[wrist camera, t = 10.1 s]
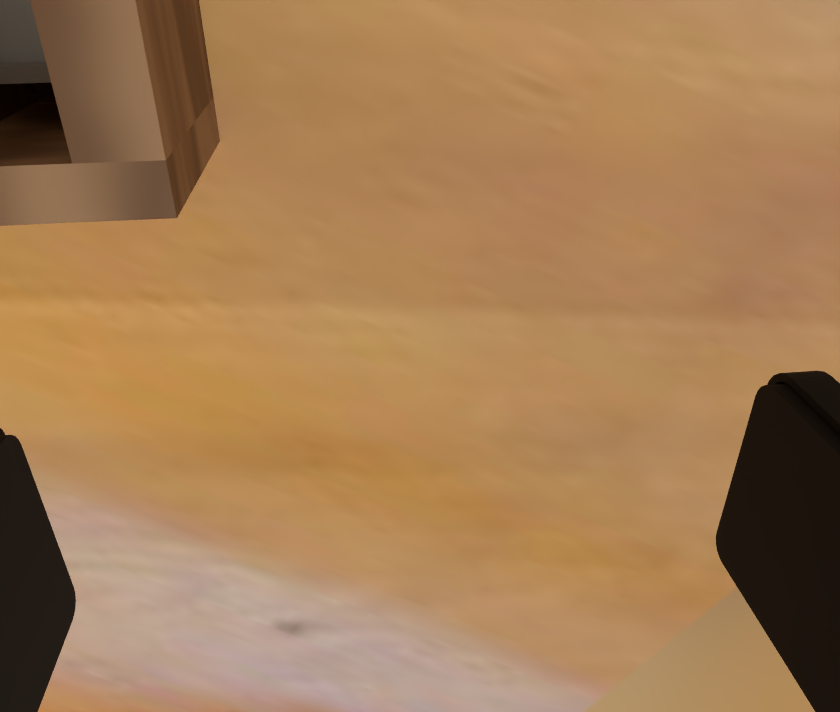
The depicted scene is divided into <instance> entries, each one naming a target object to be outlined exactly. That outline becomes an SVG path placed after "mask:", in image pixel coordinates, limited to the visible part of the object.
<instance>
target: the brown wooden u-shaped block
mask: <svg viewBox="0 0 840 712" xmlns="http://www.w3.org/2000/svg"><path fill="white" fill-rule="evenodd" d="M30 2H31V6H32V10H33V14H34V18H35V22H36V26H37V29H38V33H39V37H40V41H41V45H42V49H43V53H44V56H45V60H46V64H47V68H48V72H49V76H50V80H51V83H52V87H53V91H54V95H55V99H56V102H36V103H34V99H33V96H32V92H31V88H30V85H29V83H19V84H0V226H5V225H28V224H51V223H74V222H97V221H120V220H143V219H166V218H177V217H178V215H179V213H180V211H181V210H182V208H183V206H184V204H185V203H186V201H187V199H188V197H189V195H190V194H191V192H192V190H193V188H194V186H195V185H196V183H197V181H198V179H199V177H200V176H201V174H202V172H203V170H204V168H205V167H206V165H207V163H208V161H209V159H210V158H211V156H212V154H213V152H214V150H215V149H216V147H217V145H218V143H219V141H220V139H219V133H218V126H217V119H216V113H215V106H214V99H213V93H212V86H211V79H210V73H209V66H208V59H207V53H206V46H205V39H204V33H203V26H202V19H201V13H200V6H199V0H30Z"/></svg>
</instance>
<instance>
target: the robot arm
mask: <svg viewBox="0 0 840 712" xmlns="http://www.w3.org/2000/svg"><path fill="white" fill-rule="evenodd" d="M716 546H717V551H718V554H719V557H720V559H721V561H722V563H723V565H724V566H725V568H726V570H727V571H728V573H729V574H730V576H731V578H732V579H733V581H734V582H735V584H736V586H737V587H738V589H739V590H740V592H741V593H742V595H743V597H744V598H745V600H746V602H747V603H748V605H749V606H750V608H751V609H752V611H753V613H754V614H755V616H756V618H757V619H758V621H759V622H760V624H761V625H762V627H763V629H764V630H765V632H766V634H767V635H768V637H769V638H770V640H771V641H772V643H773V644H774V646H775V648H776V649H777V651H778V653H779V654H780V656H781V657H782V659H783V661H784V662H785V664H786V665H787V667H788V669H789V670H790V672H791V673H792V675H793V676H794V678H795V680H796V681H797V683H798V685H799V686H800V688H801V689H802V691H803V693H804V694H805V696H806V697H807V699H808V701H809V702H810V704H811V705H812V707H813V709H814V710H815V712H840V383H839V382H837V381H836V380H835V379H834V378H833V377H832V376H830V375H829V374H827V373H825V372H823V371H808V372H792V373H779V374H776V375H774V376H773V377H772V378H771V379H770V380H769V382H768V384H767V385H765V386H762V387H761V388H760V389H759V390H758V392H757V394H756V396H755V400H754V403H753V407H752V410H751V414H750V417H749V421H748V425H747V428H746V432H745V435H744V439H743V442H742V446H741V449H740V453H739V456H738V460H737V463H736V467H735V470H734V474H733V477H732V481H731V484H730V488H729V491H728V495H727V498H726V502H725V505H724V509H723V512H722V516H721V519H720V523H719V527H718V530H717V535H716ZM75 602H76V599H75V591H74V587H73V584H72V581H71V579H70V576H69V573H68V571H67V568H66V565H65V562H64V560H63V557H62V554H61V551H60V549H59V546H58V543H57V541H56V538H55V535H54V532H53V530H52V527H51V524H50V522H49V519H48V516H47V513H46V511H45V508H44V505H43V503H42V500H41V497H40V494H39V492H38V489H37V486H36V484H35V481H34V478H33V475H32V473H31V470H30V467H29V465H28V462H27V459H26V456H25V454H24V451H23V448H22V446H21V444H20V442H19V440H18V439H17V438H16V437H15V436H13V435H5V434H4V432H3V430H2V429H1V428H0V712H38V709H39V706H40V704H41V701H42V699H43V696H44V693H45V691H46V688H47V686H48V683H49V680H50V678H51V675H52V672H53V670H54V667H55V665H56V662H57V659H58V657H59V654H60V652H61V649H62V646H63V644H64V641H65V638H66V636H67V633H68V631H69V628H70V625H71V623H72V620H73V616H74V612H75Z"/></svg>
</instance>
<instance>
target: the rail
mask: <svg viewBox="0 0 840 712" xmlns="http://www.w3.org/2000/svg"><path fill="white" fill-rule="evenodd" d="M46 82H51V80H50V76H49V72H48V68H47V64H46V60H45V56H44V53H43V49H42V45H41V41H40V37H39V33H38V29H37V26H36V22H35V18H34V14H33V10H32V6H31V2H30V0H0V84H19V83H46Z"/></svg>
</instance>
